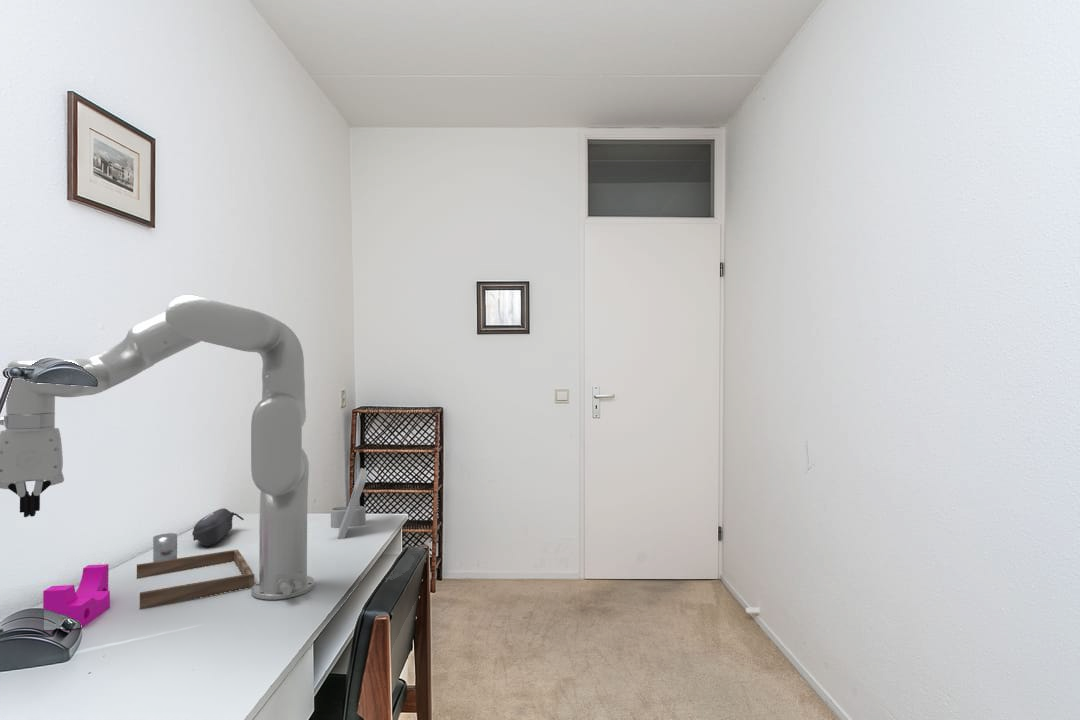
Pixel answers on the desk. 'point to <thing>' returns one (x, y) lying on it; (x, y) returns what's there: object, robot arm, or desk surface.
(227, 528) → the glasses case
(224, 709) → the desk surface
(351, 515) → the phone holder
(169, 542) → the metal peg
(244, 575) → the bay
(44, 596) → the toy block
